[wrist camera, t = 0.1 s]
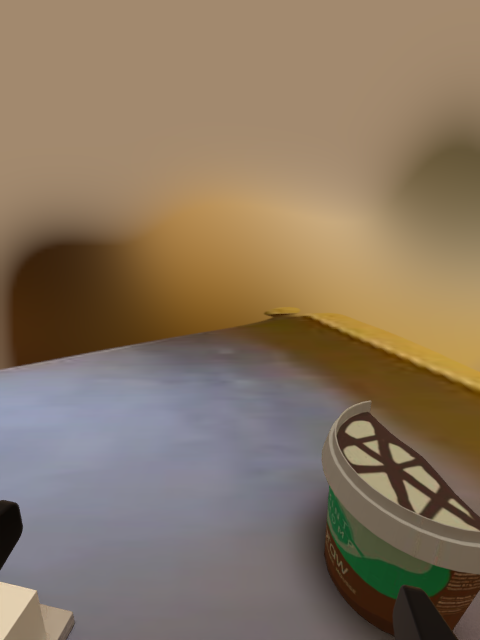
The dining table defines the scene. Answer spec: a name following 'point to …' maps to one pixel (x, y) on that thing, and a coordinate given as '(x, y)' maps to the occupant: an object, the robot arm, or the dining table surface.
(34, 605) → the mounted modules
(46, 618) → the rail plate
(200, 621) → the dining table surface
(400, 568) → the food container
